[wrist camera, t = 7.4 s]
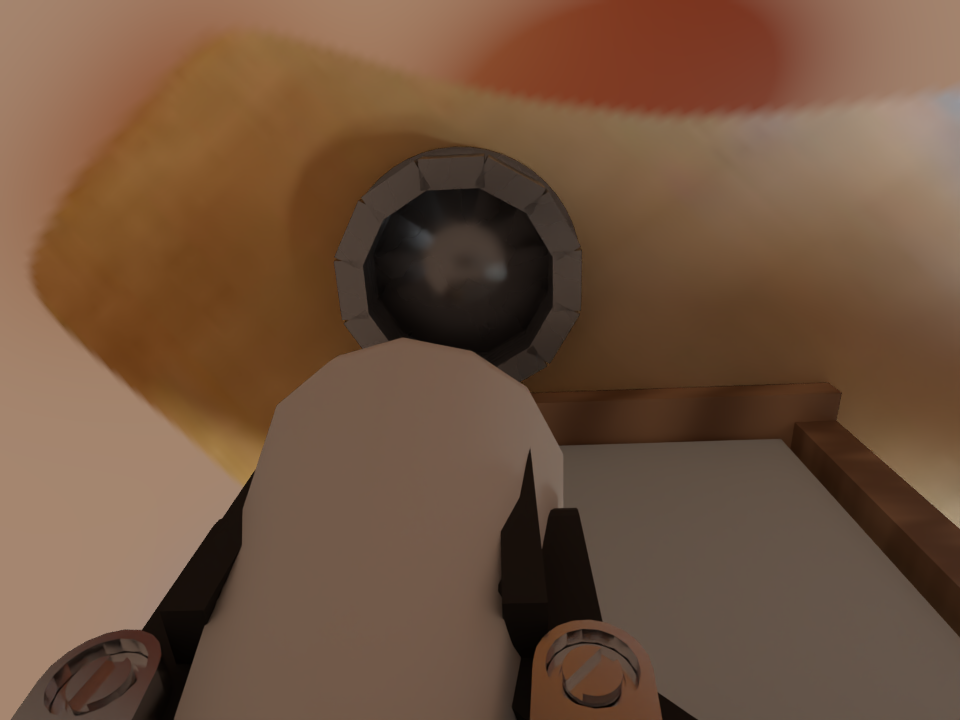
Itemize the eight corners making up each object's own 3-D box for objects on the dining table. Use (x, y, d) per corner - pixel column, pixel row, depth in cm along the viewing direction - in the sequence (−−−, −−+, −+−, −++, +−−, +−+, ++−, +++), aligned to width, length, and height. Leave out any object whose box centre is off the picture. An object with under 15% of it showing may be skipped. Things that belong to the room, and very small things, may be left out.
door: (785, 411, 29) (1092, 719, 14) (776, 464, 30) (1053, 802, 15) (394, 424, 30) (295, 730, 15) (400, 476, 31) (313, 808, 16)
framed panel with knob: (828, 382, 30) (1376, 812, 11) (809, 484, 32) (1242, 982, 14) (353, 399, 31) (141, 821, 12) (367, 497, 33) (205, 980, 14)
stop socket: (581, 140, 26) (591, 142, 23) (577, 373, 30) (586, 398, 27) (330, 152, 26) (311, 156, 24) (360, 381, 30) (347, 406, 28)
